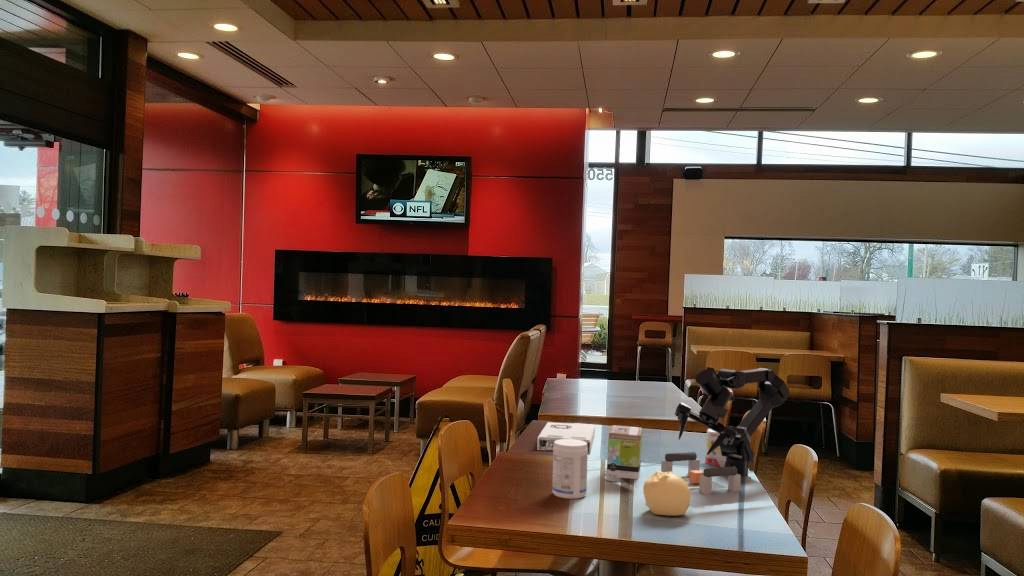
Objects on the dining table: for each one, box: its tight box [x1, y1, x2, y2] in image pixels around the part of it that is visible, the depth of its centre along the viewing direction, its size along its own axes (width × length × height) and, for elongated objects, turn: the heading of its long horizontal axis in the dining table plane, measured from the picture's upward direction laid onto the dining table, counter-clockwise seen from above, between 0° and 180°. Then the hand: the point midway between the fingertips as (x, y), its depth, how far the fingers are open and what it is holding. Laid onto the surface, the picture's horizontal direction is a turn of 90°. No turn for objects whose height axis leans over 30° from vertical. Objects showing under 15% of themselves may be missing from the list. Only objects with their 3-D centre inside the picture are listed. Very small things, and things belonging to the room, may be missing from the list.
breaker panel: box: [680, 476, 727, 491], centre depth 215 cm, size 16×13×2 cm
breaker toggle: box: [688, 469, 704, 483], centre depth 216 cm, size 3×3×3 cm
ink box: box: [704, 428, 726, 468], centre depth 246 cm, size 9×5×12 cm, turn 81°
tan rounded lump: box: [642, 470, 691, 517], centre depth 190 cm, size 11×12×11 cm
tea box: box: [605, 424, 643, 483], centre depth 226 cm, size 15×10×15 cm
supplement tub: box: [551, 439, 588, 500], centre depth 204 cm, size 10×10×15 cm
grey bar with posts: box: [698, 466, 742, 495], centre depth 208 cm, size 12×2×8 cm, turn 112°
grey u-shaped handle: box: [660, 451, 701, 474], centre depth 225 cm, size 12×2×8 cm, turn 112°
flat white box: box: [536, 421, 596, 455], centre depth 275 cm, size 19×33×5 cm, turn 171°
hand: (693, 446), depth 218 cm, fingers open, 9 cm apart
